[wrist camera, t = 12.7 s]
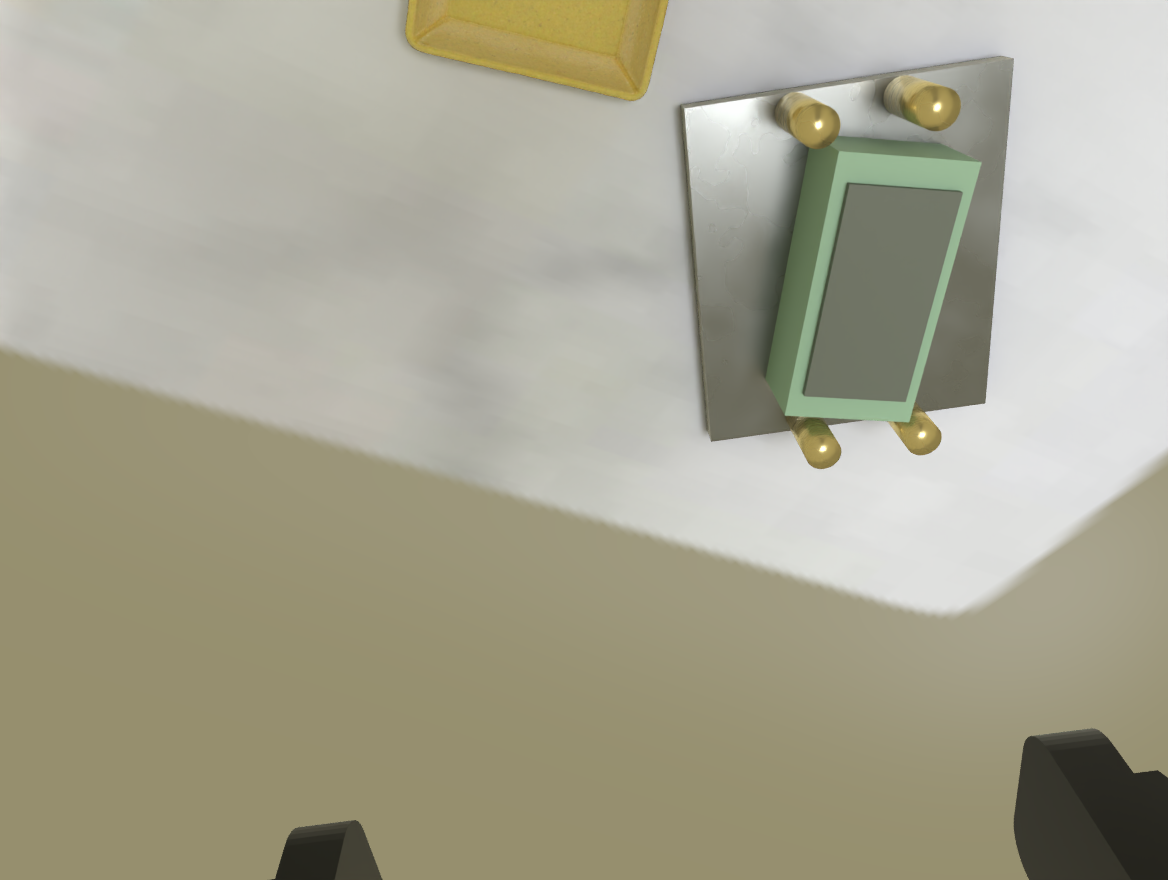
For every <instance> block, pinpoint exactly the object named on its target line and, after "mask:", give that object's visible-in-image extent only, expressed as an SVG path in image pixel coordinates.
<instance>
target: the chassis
mask: <svg viewBox="0 0 1168 880" xmlns="http://www.w3.org/2000/svg"><path fill="white" fill-rule="evenodd" d="M1013 63H1014V59H1013V58H1009V57H1004V56H998V57H992V58H985V59H979V60H972V61H965V62H959V63H952V64H946V65H939V66H933V67H926V68H919V69H913V70H906V71H900V72H893V73H886V74H880V75H873V76H867V77H860V78H853V79H847V80H840V81H834V82H827V83H820V84H814V85H807V86H801V87H794V88H788V89H781V90H774V91H768V92H761V93H755V94H748V95H741V96H735V97H728V98H722V99H715V100H708V101H702V102H695V103H689V104H682V105H681V114H682V126H683V138H684V151H685V163H686V175H687V187H688V199H689V211H690V223H691V236H692V248H693V260H694V272H695V284H696V296H697V308H698V321H699V333H700V345H701V357H702V369H703V381H704V393H705V405H706V418H707V430H708V434H709V437H710V439H711V442H712V441H719V440H726V439H733V438H741V437H748V436H755V435H762V434H769V433H776V432H783V431H792V433H793V435H794V437H795V438H796V440H797V442H798V444H799V446H800V448H801V450H802V452H803V454H804V456H805V457H806V459H807V461H808V463H809V464H810V465H811V466H812V467H814V468H817V469H825V468H829V467H831V466H833V465H834V464H835V463H836V462H837V461H838V460H839V458H840V456H841V447H840V445H839V443H838V442H837V440H836V439H835V437H834V435H833V434H832V432H831V430H830V429H829V427H828V425H834V424H841V423H848V422H855V421H862V420H857V419H838V418H820V417H802V416H785V415H784V413H783V411H782V409H781V407H780V406H779V404H778V402H777V400H776V398H775V396H774V394H773V392H772V390H771V389H770V387H769V385H768V383H767V381H766V379H765V378H766V373H767V368H768V362H769V357H770V352H771V346H772V341H773V336H774V331H775V325H776V320H777V315H778V310H779V304H780V299H781V294H782V289H783V283H784V278H785V273H786V268H787V262H788V257H789V252H790V246H791V241H792V236H793V231H794V225H795V220H796V215H797V210H798V204H799V199H800V194H801V189H802V183H803V178H804V173H805V167H806V162H807V157H808V152H809V148H812V149H822V148H825V147H827V146H829V145H830V144H831V143H833V142H834V141H835V139H836V138H837V136H847V137H860V138H873V139H885V140H898V141H911V142H924V143H937V144H943V145H945V146H948V147H950V148H952V149H954V150H956V151H958V152H961V153H963V154H965V155H967V156H969V157H972V158H974V159H976V160H978V161H980V162H982V163H981V167H980V170H979V174H978V177H977V181H976V185H975V188H974V192H973V195H972V199H971V203H970V206H969V210H968V213H967V217H966V220H965V224H964V228H963V231H962V235H961V238H960V242H959V246H958V249H957V253H956V256H955V260H954V263H953V267H952V271H951V274H950V278H949V281H948V285H947V289H946V292H945V296H944V299H943V303H942V306H941V310H940V314H939V317H938V321H937V324H936V328H935V332H934V335H933V339H932V342H931V346H930V349H929V353H928V357H927V360H926V364H925V367H924V371H923V375H922V378H921V382H920V385H919V389H918V392H917V396H916V400H915V403H914V407H913V410H912V414H911V418H910V421H909V422H893V421H887V422H888V423H889V424H890V426H891V427H892V428H893V430H894V431H895V432H896V434H897V435H898V436H899V438H900V439H901V440H902V442H903V443H904V444H905V446H906V447H907V448H908V450H909V451H910V452H911V453H913V454H916V455H926V454H929V453H931V452H932V451H934V450H935V449H936V448H937V447H938V446H939V444H940V442H941V432H940V430H939V429H938V427H937V426H936V425H935V424H934V423H933V422H932V420H931V419H930V418H929V417H928V416H927V414H926V413H925V412H927V411H934V410H941V409H948V408H955V407H962V406H969V405H977V404H984V403H985V400H986V388H987V376H988V364H989V352H990V340H991V328H992V316H993V304H994V292H995V280H996V268H997V256H998V244H999V232H1000V219H1001V207H1002V195H1003V183H1004V171H1005V159H1006V147H1007V135H1008V123H1009V111H1010V99H1011V87H1012V75H1013Z"/></svg>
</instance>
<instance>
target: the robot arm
mask: <svg viewBox="0 0 1168 880" xmlns="http://www.w3.org/2000/svg"><path fill="white" fill-rule="evenodd" d="M1014 833H1015V840H1016V844H1017V848H1018V852H1019V855H1020V859H1021V862H1022V864H1023V867H1024V869H1025V872H1026V874H1027V876H1028V878H1029V880H1168V778H1167V777H1166V776H1165V775H1163V774H1162V773H1161V772H1159V771H1158V770H1157V771H1149V772H1141V773H1133V772H1132V770H1131V769H1130V768H1129V766H1128V765H1127V763H1126V762H1125V761H1124V759H1123V758H1122V757H1121V755H1120V754H1119V753H1118V751H1117V750H1116V748H1115V747H1114V746H1113V744H1112V743H1111V742H1110V740H1109V739H1108V738H1107V737H1106V736H1105V735H1104V734H1103V733H1102V732H1100V731H1099V730H1096V729H1084V730H1076V731H1068V732H1061V733H1052V734H1044V735H1037V736H1030V737H1028V738H1027V739H1026V741H1025V743H1024V747H1023V754H1022V762H1021V769H1020V777H1019V784H1018V792H1017V799H1016V807H1015V815H1014ZM272 880H382V878H381V875H380V872H379V870H378V867H377V865H376V862H375V859H374V857H373V854H372V852H371V849H370V846H369V843H368V841H367V838H366V836H365V833H364V830H363V828H362V826H361V824H360V823H359V822H358V821H356V820H354V821H346V822H338V823H330V824H322V825H315V826H306V827H298V828H295V829H294V830H293V831H292V832H291V833H290V835H289V837H288V839H287V841H286V844H285V847H284V850H283V854H282V857H281V861H280V864H279V868H278V871H277V874H276V878H275V879H272Z"/></svg>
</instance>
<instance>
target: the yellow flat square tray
mask: <svg viewBox="0 0 1168 880" xmlns="http://www.w3.org/2000/svg"><path fill="white" fill-rule="evenodd" d="M667 5H668V0H409V6H408V13H407V21H406V28H405V34H406V38H407V40H408V42H409V44H410V45H411V46H412V47H413V48H415V49H416V50H418V51H421V52H424V53H428V54H432V55H437V56H441V57H445V58H449V59H454V60H458V61H463V62H467V63H472V64H476V65H480V66H485V67H489V68H492V69H497V70H503V71H505V72H511V73H517V74H521V75H525V76H529V77H532V78H537V79H541V80H545V81H550V82H554V83H558V84H563V85H567V86H571V87H576V88H579V89H583V90H588V91H592V92H597V93H600V94H604V95H608V96H613V97H618V98H621V99H625V100H628V101H634V100H638V99H640V98H641V97H642V96H644V94H645V93H646V91H647V88H648V85H649V82H650V77H651V73H652V68H653V64H654V60H655V55H656V51H657V47H658V43H659V39H660V35H661V31H662V27H663V23H664V18H665V14H666V9H667Z"/></svg>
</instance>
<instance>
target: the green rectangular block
mask: <svg viewBox="0 0 1168 880" xmlns="http://www.w3.org/2000/svg"><path fill="white" fill-rule="evenodd" d="M981 163H982V162H980V161H978V160H976V159H974V158H972V157H969V156H967V155H965V154H963V153H961V152H958V151H956V150H954V149H952V148H950V147H948V146H945V145H943V144H937V143H924V142H911V141H898V140H885V139H873V138H860V137H847V136H837V138H836V139H835V141H834V142H833V143H831V144H830V145H829V146H827V147H825V148H822V149H812V148H809V152H808V157H807V162H806V167H805V173H804V178H803V183H802V189H801V194H800V199H799V204H798V210H797V215H796V220H795V225H794V231H793V236H792V241H791V246H790V252H789V257H788V262H787V268H786V273H785V278H784V283H783V289H782V294H781V299H780V304H779V310H778V315H777V320H776V325H775V331H774V336H773V341H772V346H771V352H770V357H769V362H768V368H767V373H766V378H765V379H766V381H767V383H768V385H769V387H770V389H771V390H772V392H773V394H774V396H775V398H776V400H777V402H778V404H779V406H780V407H781V409H782V411H783V413H784V415H785V416H802V417H820V418H838V419H857V420H875V421H893V422H909V421H910V418H911V414H912V410H913V407H914V403H915V400H916V396H917V392H918V389H919V385H920V382H921V378H922V375H923V371H924V367H925V364H926V360H927V357H928V353H929V349H930V346H931V342H932V339H933V335H934V332H935V328H936V324H937V321H938V317H939V314H940V310H941V306H942V303H943V299H944V296H945V292H946V289H947V285H948V281H949V278H950V274H951V271H952V267H953V263H954V260H955V256H956V253H957V249H958V246H959V242H960V238H961V235H962V231H963V228H964V224H965V220H966V217H967V213H968V210H969V206H970V203H971V199H972V195H973V192H974V188H975V185H976V181H977V177H978V174H979V170H980V167H981Z"/></svg>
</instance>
